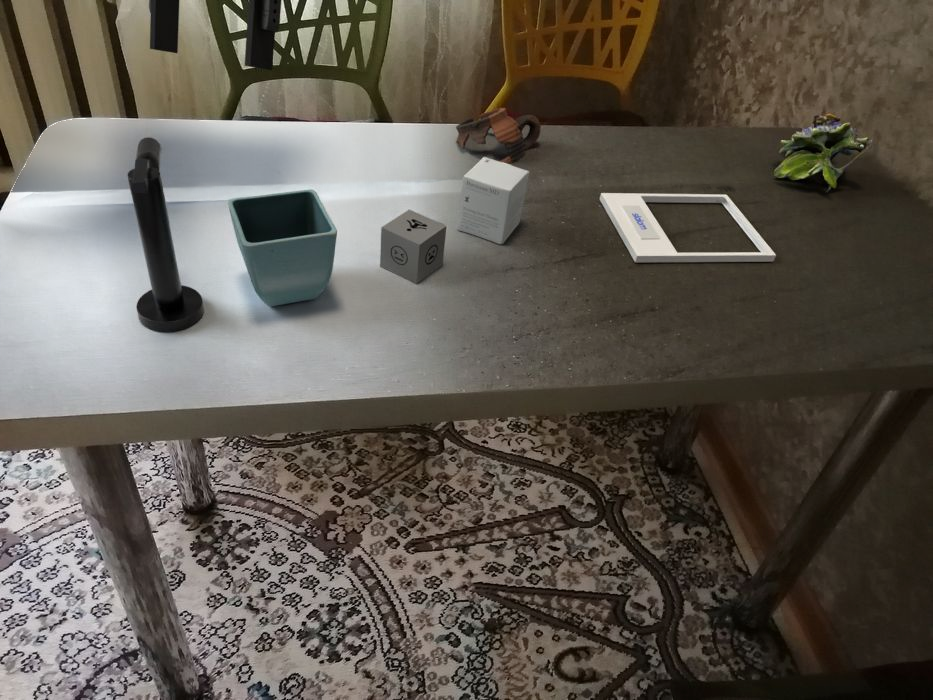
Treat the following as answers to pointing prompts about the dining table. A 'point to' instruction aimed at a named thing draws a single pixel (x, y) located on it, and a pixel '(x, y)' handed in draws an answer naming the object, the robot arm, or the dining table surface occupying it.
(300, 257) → the flower pot
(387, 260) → the dice cube
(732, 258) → the photo frame
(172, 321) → the tap
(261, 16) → the robot arm
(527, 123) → the pottery mug
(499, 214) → the product box
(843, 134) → the passion flower
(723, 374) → the dining table surface
